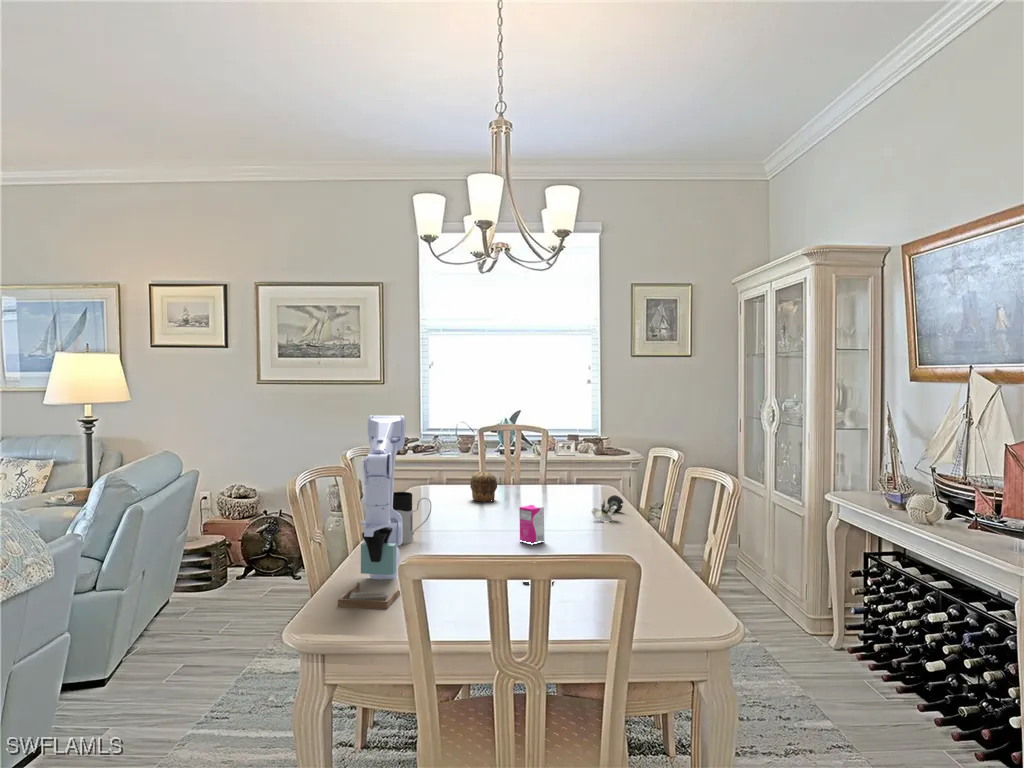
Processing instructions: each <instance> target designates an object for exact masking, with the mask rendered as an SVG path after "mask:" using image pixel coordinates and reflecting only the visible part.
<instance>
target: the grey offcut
mask: <svg viewBox="0 0 1024 768" xmlns="http://www.w3.org/2000/svg"><path fill="white" fill-rule="evenodd" d="M349 599H356V600H376V601H386V600H387V592H386V591H384V592H380V591H379V592H378V591H376V592H375V591H374V592H373V591H372V592H371V591H369V592H366V591H365V592H363V591H362V592H356V593H351V595H350V598H349Z"/></svg>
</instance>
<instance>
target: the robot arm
mask: <svg viewBox="0 0 1024 768" xmlns="http://www.w3.org/2000/svg"><path fill="white" fill-rule="evenodd" d="M367 437H368V442H369V449H368V454H367V456H364V457H363V463H362V464H363V465H362V467H363V468H362V470H363V471H362V473H363V476H364V478H363V479H364V486H365V518H364V520H362V521H360V525H361V526H363V532H362V533H361V534H362V535H361V537H362V539H363V543H364V542H366V544H367V547H368V551H369V555H370V559H371V562H380V560H381V555H382V547H383V543H396V573H395V574H394V575H382V574H368V579H374V580H398V579H397V566H398V564H399V563H400V564H401V553H400V552H401V551H400V548H399V547H398V546H401V545H402V544H401V543H402V539H403V524H402V517H401V515H400V514H399V513H398V512H396V511H395V510H394V509H393V492H394V488H395V487H394V486H395V485H394V484H395V461H396V458H397V454H398V451H401V450H402V449H404V445H405V443H406V442H405V441H406V417H405V416H404V414H401V415H373V414H371V415H369V416H368V418H367Z"/></svg>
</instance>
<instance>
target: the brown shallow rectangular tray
mask: <svg viewBox="0 0 1024 768" xmlns="http://www.w3.org/2000/svg"><path fill="white" fill-rule="evenodd" d="M360 587H361V584H360V581H359V582H356V583H354V585H352V587H350V588H349V589H348V590H347V591H345V593H343V594H342V596H340V597H339V598H337V607H343V608H344V607H346V608H358V609H359V608H362V609H363V608H365V609H379V610H380V609H383V610H387V609H389V608H390V606H392V605H393V604H394V602H395V601H396V600H397V599H398V598H399V597H400V595H401V594H400V591H399V586H398V587H397V588H396V589H395V590H394V591H393V593H391V594H390V595H389V597H388V598H386V601H376V600H356V599H350V595H351V593H358V591H360Z"/></svg>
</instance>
